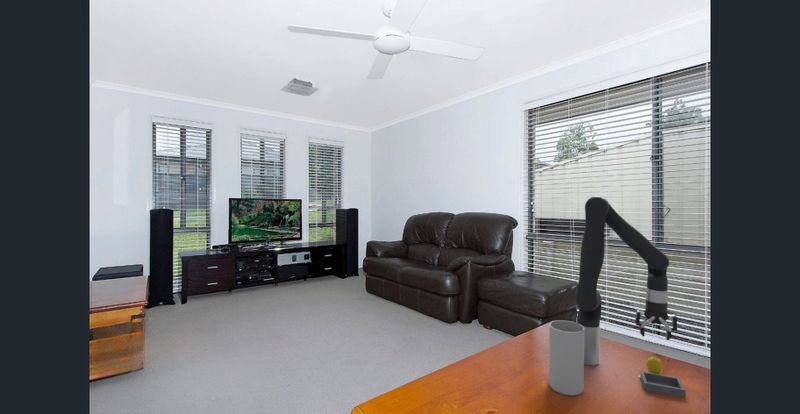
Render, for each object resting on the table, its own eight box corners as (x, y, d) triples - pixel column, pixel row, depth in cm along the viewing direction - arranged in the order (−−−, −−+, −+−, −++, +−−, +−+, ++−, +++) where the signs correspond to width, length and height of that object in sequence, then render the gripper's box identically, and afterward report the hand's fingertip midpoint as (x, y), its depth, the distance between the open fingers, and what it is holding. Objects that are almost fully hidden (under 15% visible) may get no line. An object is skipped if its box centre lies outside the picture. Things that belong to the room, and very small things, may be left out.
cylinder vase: (568, 400, 139) (569, 334, 138) (542, 384, 150) (542, 323, 149) (590, 391, 145) (591, 328, 143) (563, 376, 156) (563, 318, 155)
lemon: (664, 379, 153) (665, 360, 152) (649, 377, 154) (650, 359, 153) (658, 372, 158) (658, 354, 158) (643, 371, 159) (644, 353, 159)
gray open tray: (644, 390, 145) (644, 382, 145) (640, 378, 154) (640, 371, 154) (685, 398, 139) (685, 390, 139) (678, 385, 148) (679, 377, 148)
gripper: (637, 299, 154) (636, 338, 155) (679, 304, 148) (678, 344, 149) (635, 294, 161) (634, 331, 162) (675, 299, 154) (674, 337, 155)
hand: (655, 337), depth 155 cm, fingers open, 8 cm apart
